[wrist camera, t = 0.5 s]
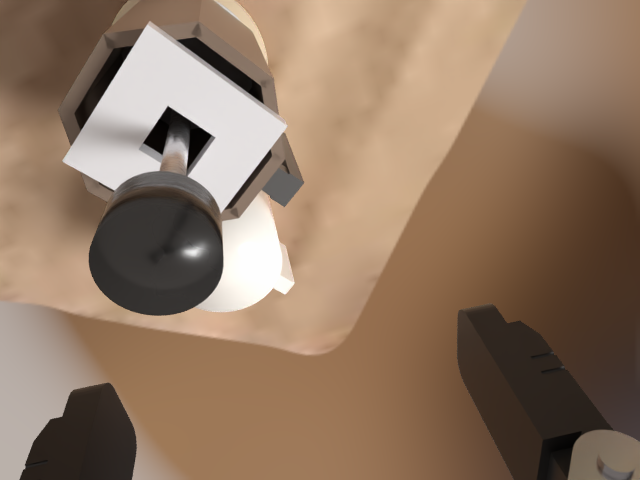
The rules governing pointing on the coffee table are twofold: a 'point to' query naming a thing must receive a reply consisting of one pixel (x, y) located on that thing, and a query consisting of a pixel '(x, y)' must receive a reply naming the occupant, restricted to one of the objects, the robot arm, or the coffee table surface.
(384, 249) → the coffee table surface
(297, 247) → the coffee table surface
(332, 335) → the coffee table surface
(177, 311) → the plunger
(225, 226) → the mug
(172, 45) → the carafe
